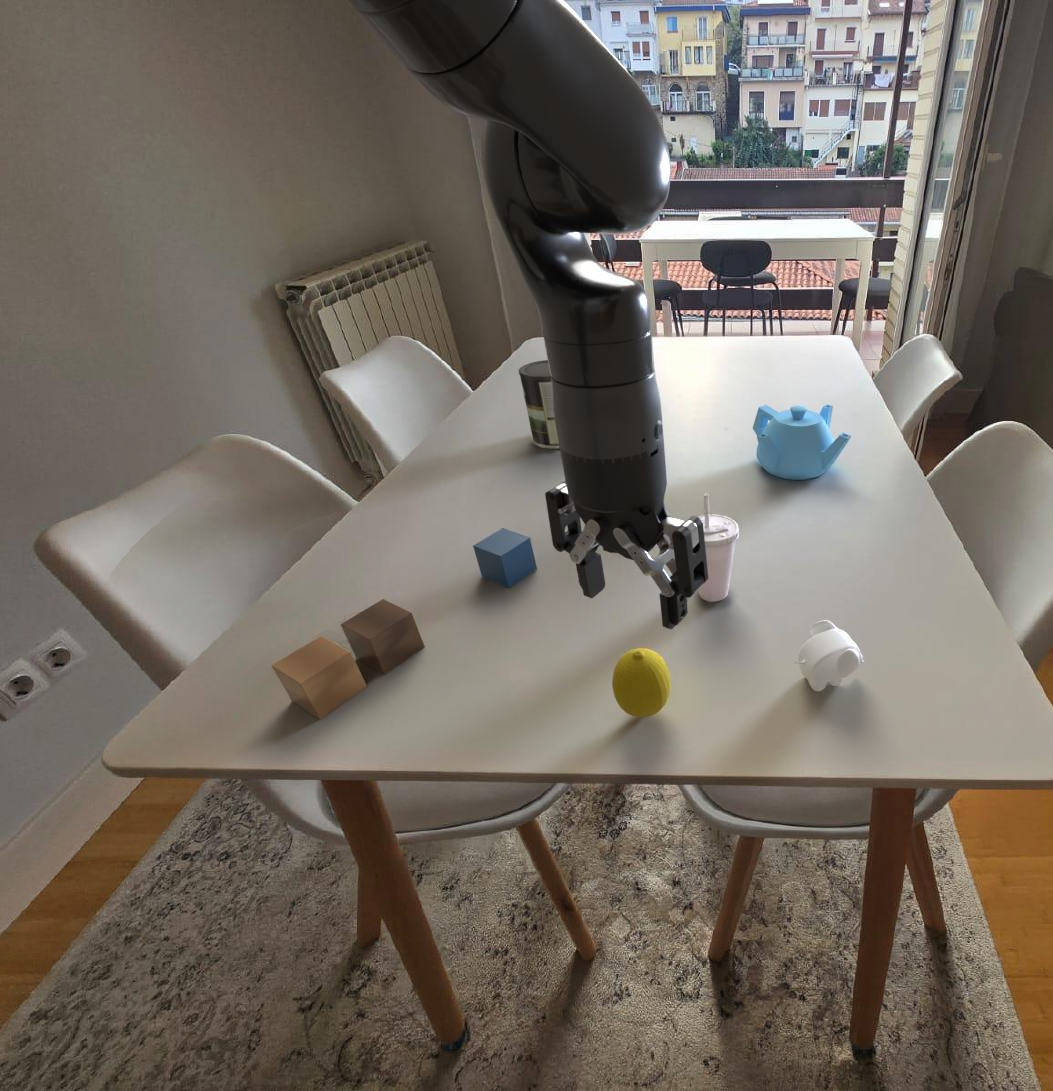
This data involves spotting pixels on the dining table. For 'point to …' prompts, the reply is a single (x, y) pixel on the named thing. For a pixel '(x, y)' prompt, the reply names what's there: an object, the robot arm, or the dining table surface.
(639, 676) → the lemon
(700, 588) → the smoothie
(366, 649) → the block
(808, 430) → the teapot
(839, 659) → the white rounded piece
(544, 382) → the coffee can
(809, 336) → the dining table surface
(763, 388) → the dining table surface
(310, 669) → the block
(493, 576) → the block
